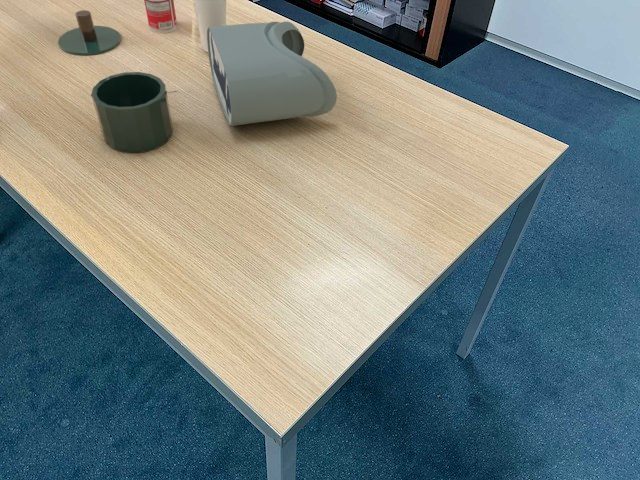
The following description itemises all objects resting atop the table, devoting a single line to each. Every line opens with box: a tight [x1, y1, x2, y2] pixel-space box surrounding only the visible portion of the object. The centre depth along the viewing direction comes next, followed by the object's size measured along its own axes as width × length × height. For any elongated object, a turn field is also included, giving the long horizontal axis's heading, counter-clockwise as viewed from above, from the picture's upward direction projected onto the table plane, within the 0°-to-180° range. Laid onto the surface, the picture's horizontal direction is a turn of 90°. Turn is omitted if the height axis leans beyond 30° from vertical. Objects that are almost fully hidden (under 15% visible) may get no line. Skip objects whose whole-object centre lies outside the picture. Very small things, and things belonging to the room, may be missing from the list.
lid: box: [57, 9, 122, 56], centre depth 114 cm, size 13×13×7 cm
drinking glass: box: [192, 0, 227, 54], centre depth 113 cm, size 7×7×15 cm
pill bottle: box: [143, 0, 178, 34], centre depth 119 cm, size 6×6×11 cm
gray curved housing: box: [207, 21, 338, 127], centre depth 100 cm, size 22×19×13 cm
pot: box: [91, 71, 174, 154], centre depth 92 cm, size 12×12×8 cm
